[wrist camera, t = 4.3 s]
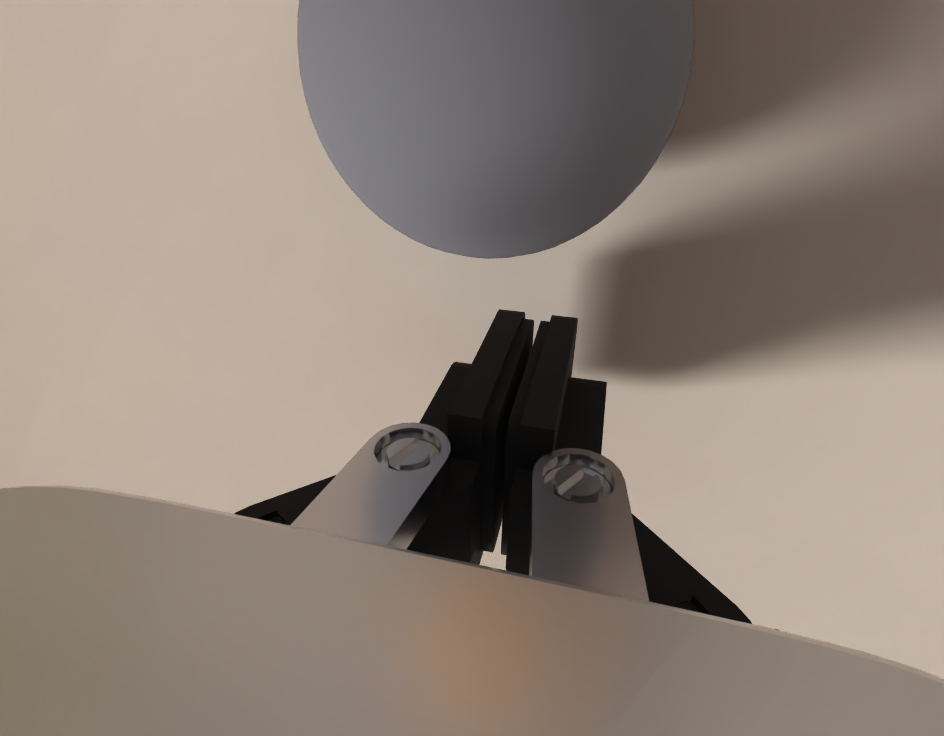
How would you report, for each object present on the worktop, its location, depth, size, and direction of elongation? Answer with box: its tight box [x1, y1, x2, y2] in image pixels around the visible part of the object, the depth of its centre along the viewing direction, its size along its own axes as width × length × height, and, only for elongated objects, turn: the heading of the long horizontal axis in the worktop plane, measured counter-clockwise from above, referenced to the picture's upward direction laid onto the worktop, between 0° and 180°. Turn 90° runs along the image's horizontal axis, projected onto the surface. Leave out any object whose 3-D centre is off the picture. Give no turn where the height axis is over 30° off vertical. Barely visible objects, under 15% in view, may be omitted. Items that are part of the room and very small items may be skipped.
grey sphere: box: [297, 0, 694, 259], centre depth 8 cm, size 6×6×6 cm
